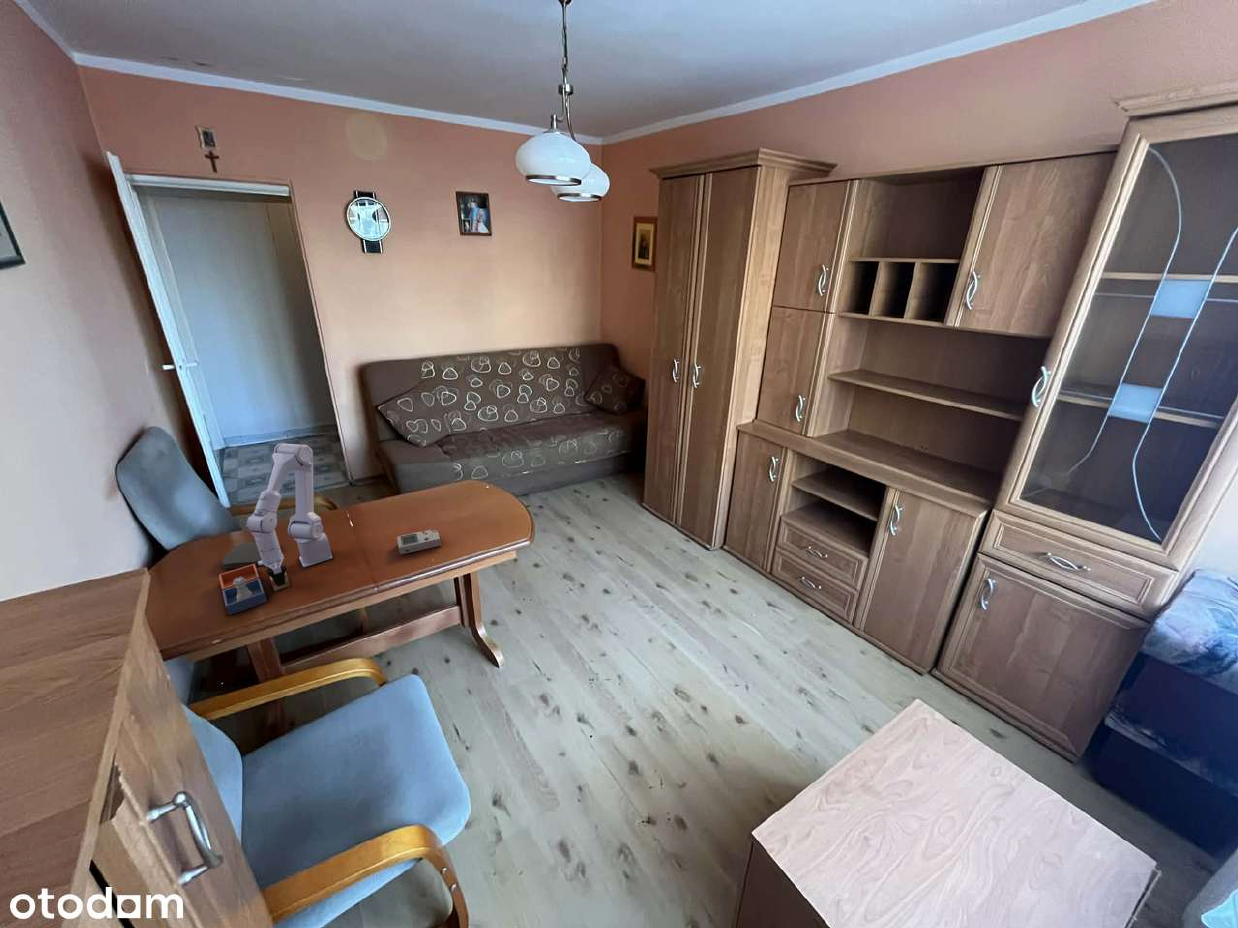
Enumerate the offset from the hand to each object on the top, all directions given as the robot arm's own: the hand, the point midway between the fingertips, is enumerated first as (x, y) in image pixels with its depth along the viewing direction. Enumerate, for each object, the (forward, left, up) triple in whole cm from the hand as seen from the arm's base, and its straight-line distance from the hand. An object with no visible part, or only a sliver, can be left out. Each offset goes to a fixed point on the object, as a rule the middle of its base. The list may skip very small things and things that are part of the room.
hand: (279, 581), depth 170 cm
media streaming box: (+5, -26, -2) cm, 27 cm away
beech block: (0, 0, -2) cm, 2 cm away
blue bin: (+10, +2, -2) cm, 10 cm away
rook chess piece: (+10, +2, -1) cm, 10 cm away
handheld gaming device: (-45, +6, -2) cm, 45 cm away
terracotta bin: (+10, -9, -2) cm, 14 cm away
